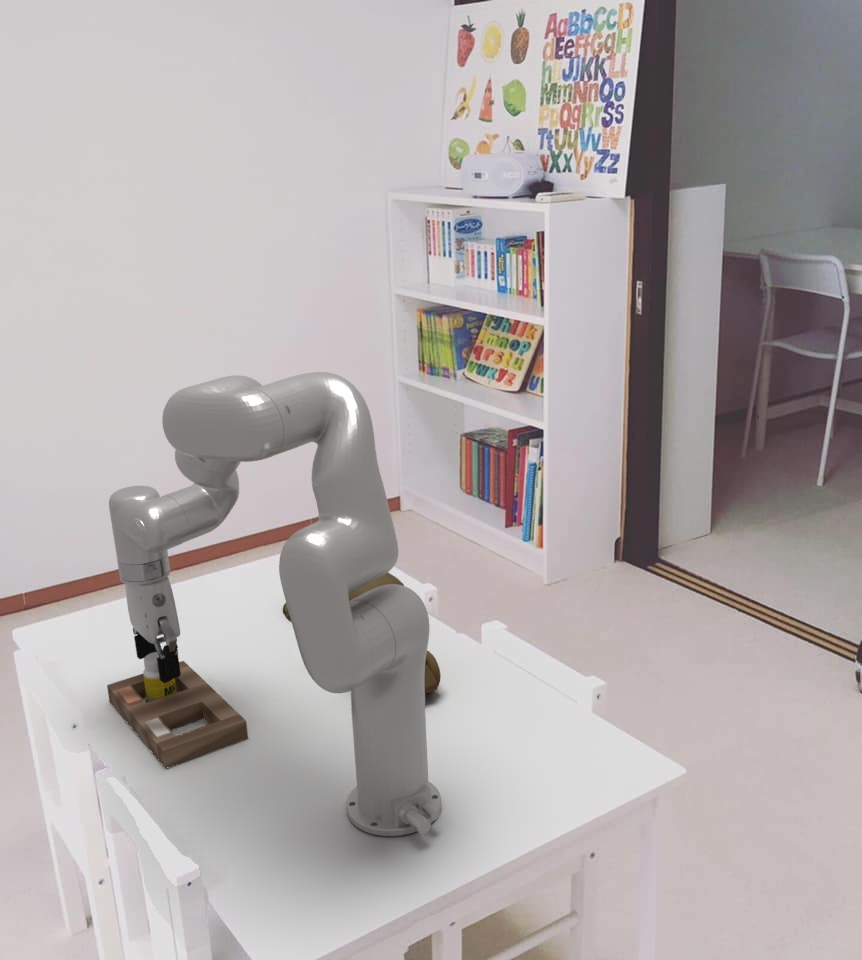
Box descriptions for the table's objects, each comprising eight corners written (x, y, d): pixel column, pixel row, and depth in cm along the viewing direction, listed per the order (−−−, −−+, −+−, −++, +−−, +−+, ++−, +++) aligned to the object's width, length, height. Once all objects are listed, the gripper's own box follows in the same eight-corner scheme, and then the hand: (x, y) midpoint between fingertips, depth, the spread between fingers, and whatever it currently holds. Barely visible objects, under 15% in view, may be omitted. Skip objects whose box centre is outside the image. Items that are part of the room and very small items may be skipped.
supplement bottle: (170, 713, 170) (163, 665, 167) (142, 710, 171) (135, 663, 168) (182, 697, 174) (176, 650, 172) (155, 695, 175) (149, 649, 173)
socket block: (248, 738, 162) (246, 718, 161) (165, 768, 155) (162, 748, 154) (185, 676, 181) (183, 658, 180) (109, 701, 174) (106, 682, 173)
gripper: (189, 577, 160) (203, 680, 166) (147, 545, 174) (161, 641, 179) (140, 590, 156) (156, 695, 162) (101, 557, 170) (117, 655, 175)
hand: (158, 667), depth 170 cm, fingers open, 9 cm apart
